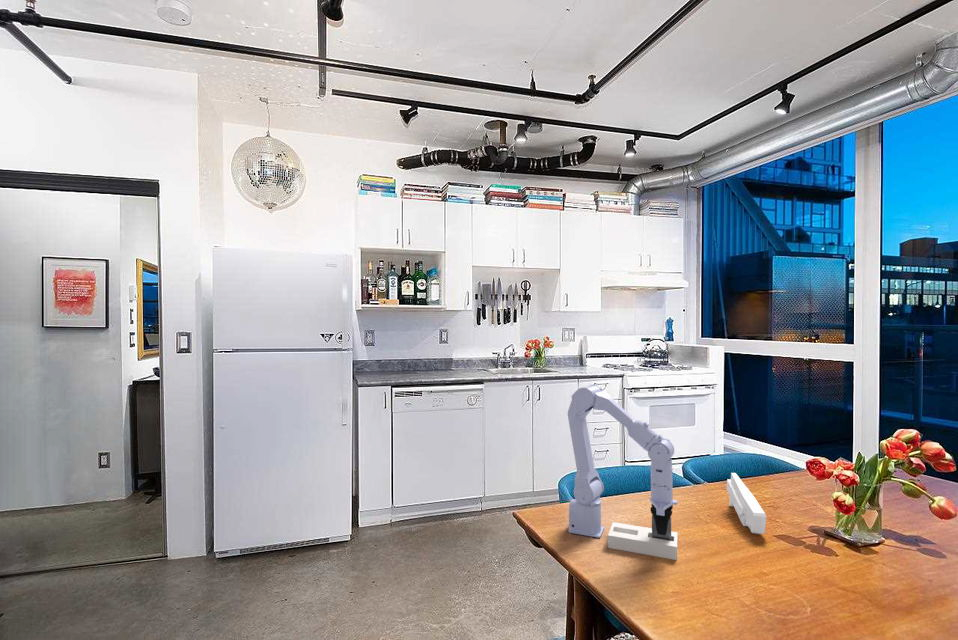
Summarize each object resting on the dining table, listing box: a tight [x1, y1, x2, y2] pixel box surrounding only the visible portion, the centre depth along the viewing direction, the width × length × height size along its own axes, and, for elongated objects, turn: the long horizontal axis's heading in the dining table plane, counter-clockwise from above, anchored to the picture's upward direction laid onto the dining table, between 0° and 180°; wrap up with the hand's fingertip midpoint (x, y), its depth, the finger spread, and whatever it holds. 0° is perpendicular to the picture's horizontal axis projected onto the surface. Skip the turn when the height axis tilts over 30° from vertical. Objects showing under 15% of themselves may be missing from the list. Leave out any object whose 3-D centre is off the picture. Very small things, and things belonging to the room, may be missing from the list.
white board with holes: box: [607, 521, 679, 561], centre depth 136 cm, size 18×10×4 cm, turn 67°
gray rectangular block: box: [651, 514, 672, 541], centre depth 134 cm, size 5×2×9 cm, turn 67°
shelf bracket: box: [726, 472, 767, 535], centre depth 154 cm, size 6×25×13 cm, turn 169°
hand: (661, 532), depth 134 cm, fingers closed on gray rectangular block, 2 cm apart
